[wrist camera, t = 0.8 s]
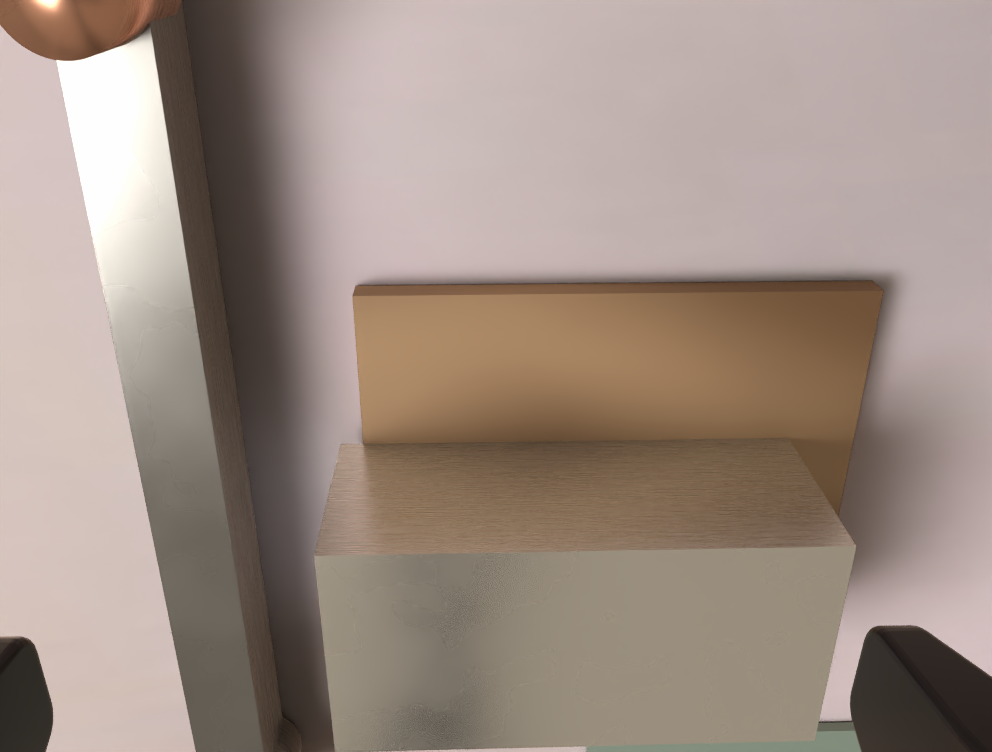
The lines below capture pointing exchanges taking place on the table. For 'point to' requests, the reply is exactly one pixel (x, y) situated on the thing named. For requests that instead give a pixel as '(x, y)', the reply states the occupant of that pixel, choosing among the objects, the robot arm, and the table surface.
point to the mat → (760, 743)
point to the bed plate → (619, 364)
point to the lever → (170, 344)
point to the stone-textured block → (577, 594)
